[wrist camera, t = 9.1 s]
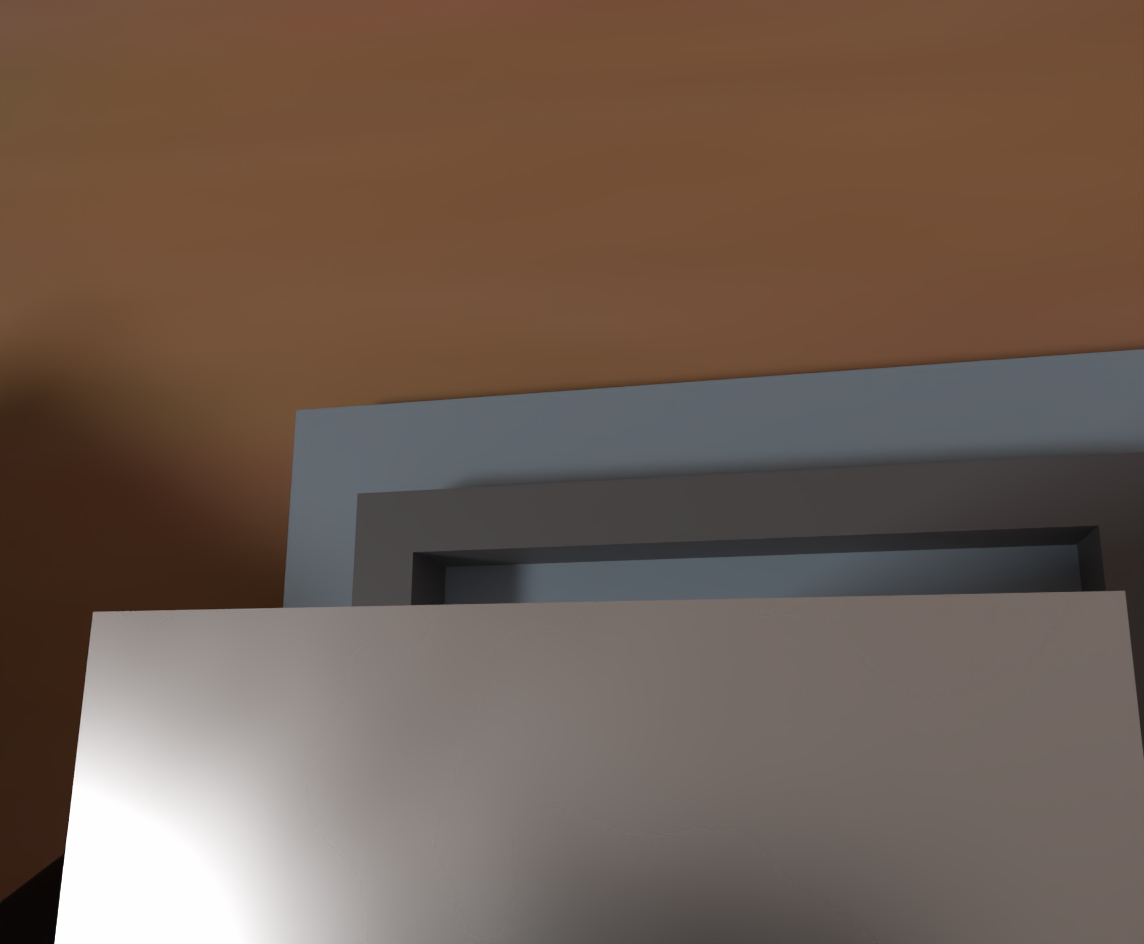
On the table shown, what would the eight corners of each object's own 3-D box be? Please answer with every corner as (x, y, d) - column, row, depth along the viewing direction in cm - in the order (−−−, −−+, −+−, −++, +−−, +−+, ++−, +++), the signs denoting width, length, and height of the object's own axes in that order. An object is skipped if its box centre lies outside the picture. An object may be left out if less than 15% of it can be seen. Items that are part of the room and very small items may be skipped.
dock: (1428, 1577, 14) (1561, 1767, 11) (266, 1397, 17) (166, 1510, 15) (1243, 366, 18) (1310, 301, 15) (325, 428, 21) (254, 384, 19)
